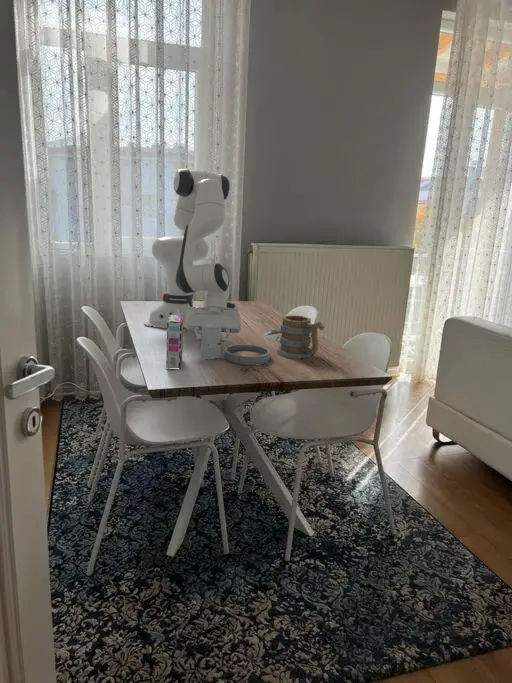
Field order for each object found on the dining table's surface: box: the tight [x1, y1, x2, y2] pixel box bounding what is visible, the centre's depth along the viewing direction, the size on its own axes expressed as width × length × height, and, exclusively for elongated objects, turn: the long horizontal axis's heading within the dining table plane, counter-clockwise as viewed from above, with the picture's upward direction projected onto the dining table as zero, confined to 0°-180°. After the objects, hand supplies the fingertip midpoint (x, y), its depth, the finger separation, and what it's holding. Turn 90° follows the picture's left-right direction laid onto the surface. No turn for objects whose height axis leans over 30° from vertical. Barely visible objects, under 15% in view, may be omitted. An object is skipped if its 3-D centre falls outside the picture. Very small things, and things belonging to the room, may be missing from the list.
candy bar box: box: [165, 315, 184, 370], centre depth 175 cm, size 11×5×16 cm, turn 4°
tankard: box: [276, 314, 325, 360], centre depth 193 cm, size 20×13×15 cm, turn 36°
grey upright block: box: [200, 324, 222, 360], centre depth 186 cm, size 6×4×12 cm
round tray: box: [223, 343, 271, 366], centre depth 188 cm, size 17×17×3 cm
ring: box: [263, 328, 282, 342], centre depth 223 cm, size 19×19×2 cm
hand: (211, 340), depth 185 cm, fingers open, 8 cm apart
